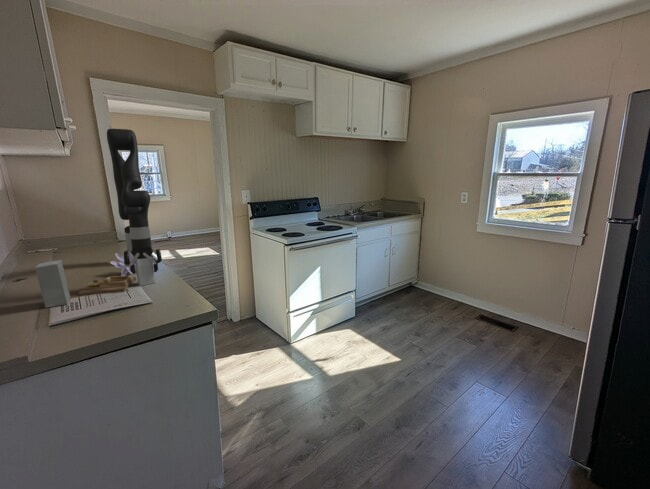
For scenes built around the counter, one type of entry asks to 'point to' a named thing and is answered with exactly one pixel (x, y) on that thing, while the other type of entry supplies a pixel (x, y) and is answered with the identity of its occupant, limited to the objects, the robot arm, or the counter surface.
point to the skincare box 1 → (53, 283)
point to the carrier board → (110, 285)
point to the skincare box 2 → (144, 271)
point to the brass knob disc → (94, 283)
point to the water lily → (121, 264)
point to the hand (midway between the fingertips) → (144, 272)
